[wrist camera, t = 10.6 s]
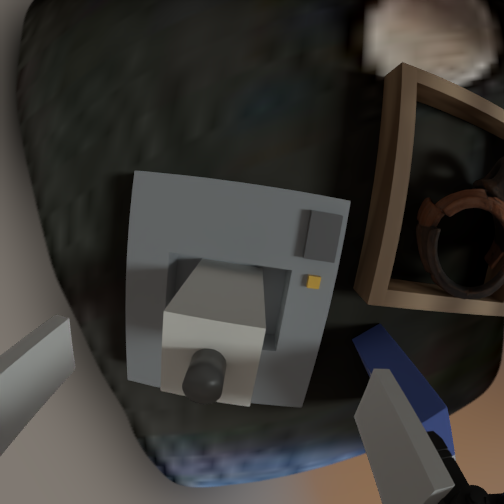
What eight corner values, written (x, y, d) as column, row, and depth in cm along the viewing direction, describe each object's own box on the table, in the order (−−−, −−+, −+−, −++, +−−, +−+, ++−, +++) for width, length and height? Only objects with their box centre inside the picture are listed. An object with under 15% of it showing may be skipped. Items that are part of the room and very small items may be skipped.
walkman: (351, 339, 24) (405, 437, 13) (379, 322, 24) (450, 410, 12) (378, 398, 26) (424, 489, 14) (403, 383, 25) (458, 469, 14)
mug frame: (512, 133, 20) (535, 130, 17) (485, 303, 24) (506, 316, 20) (384, 76, 20) (402, 62, 16) (353, 288, 23) (367, 304, 20)
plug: (262, 268, 23) (267, 352, 11) (252, 322, 24) (248, 434, 12) (202, 258, 23) (149, 331, 11) (195, 313, 24) (149, 415, 12)
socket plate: (338, 198, 22) (353, 201, 18) (297, 386, 25) (302, 412, 22) (149, 172, 22) (131, 170, 18) (139, 361, 25) (125, 383, 22)
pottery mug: (478, 289, 24) (491, 331, 17) (400, 245, 27) (390, 274, 21) (530, 177, 19) (564, 184, 12) (446, 129, 22) (455, 116, 15)
